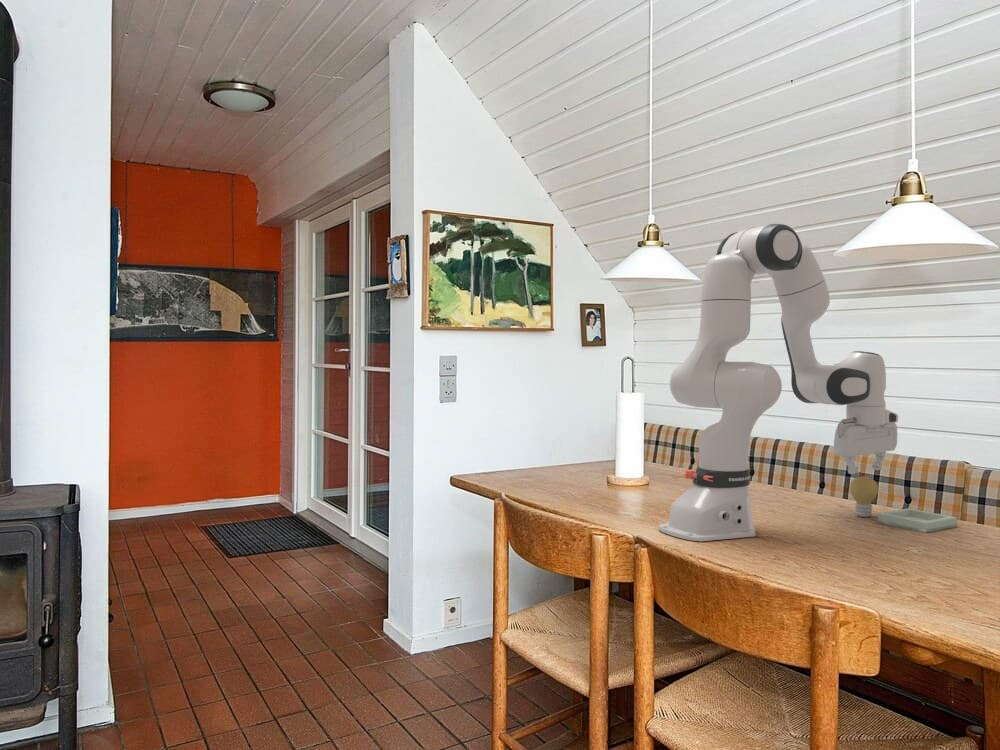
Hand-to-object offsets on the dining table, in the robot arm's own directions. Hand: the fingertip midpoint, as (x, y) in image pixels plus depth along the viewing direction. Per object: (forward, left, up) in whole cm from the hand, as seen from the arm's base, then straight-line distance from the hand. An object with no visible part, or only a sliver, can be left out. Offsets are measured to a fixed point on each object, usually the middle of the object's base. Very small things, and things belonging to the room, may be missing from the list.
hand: (865, 471), depth 193 cm
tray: (+2, -12, -11) cm, 17 cm away
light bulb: (-1, 0, -11) cm, 11 cm away
